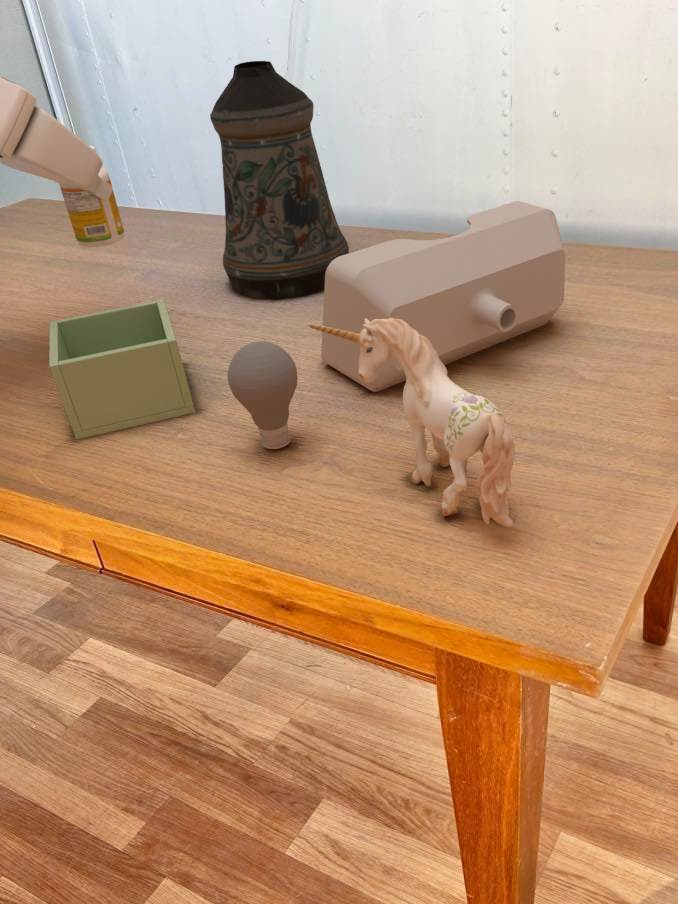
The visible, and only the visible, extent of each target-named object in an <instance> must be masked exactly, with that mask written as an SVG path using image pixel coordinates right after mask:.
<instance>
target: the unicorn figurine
mask: <svg viewBox="0 0 678 904" xmlns="http://www.w3.org/2000/svg"><path fill="white" fill-rule="evenodd" d="M364 322H365V324H364V325H363V327H365V328H364V329H362V330H361V332H360V333H361V334H359V333H355V332H348V331H346V330H340V329H334V328H332V327H326V326H323V325H321V324H316V323H312V322H308V323H307V324H306V326H307V327H309V328H310V329H312V330H313V329H314V330H316V331H320V332H321V333H322V332H326V333H329V334H331V335H334V336H337V337H341V338H343V339H347V340H350V341H353V342H356V343H359V344H360V351H361V353H360V357H359V371H358V374H359V376H360V377H361V378H362V379H363V380H364V381H365V382H367V383H369V382H373V381H374V380H376V379H378V376H379V375H378V372H377V371H378V370H379V368H380V366H381V364H382V363H383V362H385V361H386V360H387V359H388V358H389V357H390V356H394V357H396V358H397V359H398V360H399V362H400V363H401V365H402V367H403V369H404V372H405V375H406V381H405V384H404V386H403V392H402V406H403V412H404V416H405V418H406V419H407V422H408V425H409V428H410V430H411V433H412V435H413V446H414V450H415V452H416V455H417V465H416V469H414V470H413V472H412V474H411V476H410V481H411V483H412V484H414V485H418V484H419V483H420V482H423V483H424V485H425V486H427V487H428V488H430V487H431V485H432V476H433V469H434V468H433V464H432V462H431V461H430V460H429V458H428V456H427V450H428V449H427V448H428V441H427V439H426V436H425V435H426V432H425V430H428V432H430V434H431V438H432V445H433V449H434V451H435V452H436V456H437V460H438V464H439V465H440V467H442V468H447V467H449V466H450V469H451V471H452V474H453V481H452V483H451V484H450V485H449V486H447V487H446V488H445V489H444V490H443V492H442V502H441V515H442V517H448V516H452V515H455V514H456V513H458V511H459V510H458V505H459V504H460V502H461V494H460V493H461V492H462V491H465V490H467V489H468V487H469V482H468V478H467V465H468V460H469V459H470V458H471V457H472V456H474V455H475V454H477V453H478V452H479V451H480V453H481V460H482V464H483V466H482V471H481V472H480V473H479V474H478V477H477V479H476V486H477V489H478V491H479V497H478V503H479V505H480V509H481V517H482V520H483V521H484V523H485V524H486V525H490V524H491V522H490V521H491V518H492V520H493V521H494V522H495V523H497V524H499V525H502V526H503V527H506V528H511V527H512V526H513V525H514V520H513V519H512V518H511V517H510V516H509V514H510V508H509V507H510V503H509V502H508V500H507V498H506V497H507V492H510V491H511V490H512V478H511V477H512V476H511V472H512V470H513V467H514V459H515V455H516V446H515V441H514V434H513V431H512V430H511V428H509V426H508V425H507V422H506V418H505V415H504V414H503V412H502V411H501V409H499V407H498V406H497V405H496V404H495V403H493V402H492V401H491V400H489V399H488V398H486V397H484V396H482V395H478V394H473V393H471V392H469V391H467V390H466V389H463V388H462V387H461V386H459V385H458V384H456V383H455V382H453V380H451V379H450V377H449V376H448V370H447V367H446V365H444V364H443V363H442V362H441V361H440V359H439V356H438V353H437V351H436V350H435V349H434V347H433V345H432V344H431V342H430V341H429V340H428V339H427V338H426V337H424V336H423V335H421V334H419V333H418V332H417V331H416V330H414V329H413V328H411V327H410V326H409V325H408V324H407V323H406V322H405V321H403V320H401V319H394V318H389V319H375V320H373V321H371V322H370V321H369V320H368V319H364Z"/></svg>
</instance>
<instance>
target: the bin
mask: <svg viewBox="0 0 678 904" xmlns="http://www.w3.org/2000/svg"><path fill="white" fill-rule="evenodd" d="M180 353H181V352H180V350H179V345H178V342H177V338H176V335H175V331H174V328H173V326H172V321H171V317H170V316H169V312H168V308H167V305H166V301H165V299H164V298H162V299H161V298H160V299H156V300H155V299H154V300H151V301H146V302H145V301H144V302H141V303H136V304H135V303H134V304H132V305H131V304H130V305H126V306H121V307H116V308H111V309H106V310H99V311H96V312H90V313H86V314H80V315H75V316H70V317H65V318H61V319H57V320H56V319H55V320H51V321H49V360H48V363H49V366H48V367H49V370H50V372H51V375H52V378H53V381H54V383H55V387H56V389H57V392H58V394H59V398H60V400H61V402H62V405H63V407H64V410H65V413H66V416H67V419H68V421H69V424H70V427H71V429H72V432H73V434H74V437H75V439H76V440H81V439H86V438H90V437H94V436H98V435H102V434H107V433H112V432H117V431H121V430H125V429H128V428H134V427H138V426H143V425H147V424H152V423H155V422H159V421H164V420H165V421H166V420H168V419H173V418H177V417H181V416H186V415H190V414H195V413H196V409H195V405H194V402H193V398H192V394H191V390H190V387H189V383H188V379H187V375H186V372H185V368H184V364H183V360H182V357H181V354H180Z"/></svg>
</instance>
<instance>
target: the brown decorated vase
mask: <svg viewBox="0 0 678 904" xmlns="http://www.w3.org/2000/svg"><path fill="white" fill-rule="evenodd" d="M232 73H233V74H232V77H231V78H230V80H229V82H228V83H227V85H226V86H225V87H224V90H223V91H222V92H221V94H220V95H219V97H218V99H217V100H216V102H215V103H214V106H213V107H212V111H211V113H210V115H209V117H210V121H211V123H212V126H213V129H214V131H215V132H216V133H217V136H218V137H219V138H218V139H219V141H220V149H221V164H222V179H223V191H224V193H223V194H224V195H223V196H224V212H225V213H224V214H225V215H224V219H225V241H224V251H223V254H222V255H223V256H222V266H223V268H224V270H225V273H226V275H227V278H228V281H229V283H230V285H231V287H232V290H233V291H234V292H236V293H237V294H239V295H240V296H242V297H245V298H250V299H253V300H272V301H278V300H286V299H296V298H303V297H307V296H310V295H314V294H317V293H320V292H324V290H325V273H326V270H327V267H328V266H329V264H330V263H331V262H332V261H333V260H334V259H335V258H337V257H339V256H342V255H346V254H349V253H350V247H349V243H348V241H347V239H346V237H345V236H344V234H343V233H342V231H341V228H340V226H339V223H338V221H337V218H336V215H335V212H334V210H333V207H332V203H331V200H330V197H329V193H328V188H327V185H326V181H325V178H324V174H323V170H322V166H321V162H320V158H319V154H318V151H317V148H316V143H315V139H314V136H313V133H312V126H311V124H312V121H313V119H314V118H313V117H314V108H315V107H314V102H313V101H312V99H310V97H309V96H308V95H307V94H306V93H305V91H303V90H301V89H300V88H299V87H297V86H295V84H292V83H291V82H290V81H288V80H287V79H286V78H285V77H284V76H282V75H280V74H279V73H278V72H277V71H276V69H275V67H274V65H273V64H272V62H271V61H269V60H268V61H267V60H253V61H251V60H250V61H245V62H240V63H238V64H236V65H234V67H233V72H232Z"/></svg>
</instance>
